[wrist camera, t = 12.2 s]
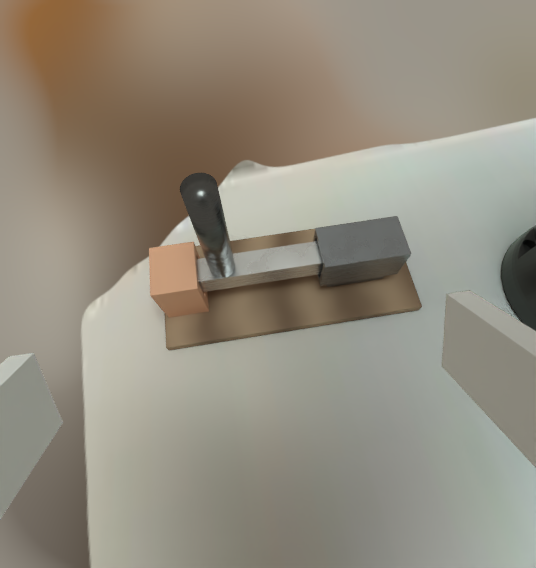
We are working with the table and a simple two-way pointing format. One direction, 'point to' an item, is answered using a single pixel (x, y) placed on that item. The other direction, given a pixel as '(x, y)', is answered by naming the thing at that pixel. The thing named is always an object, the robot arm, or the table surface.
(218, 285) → the sliding bolt
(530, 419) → the robot arm
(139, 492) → the table surface
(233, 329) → the base board
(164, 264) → the socket block
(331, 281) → the outer sleeve
